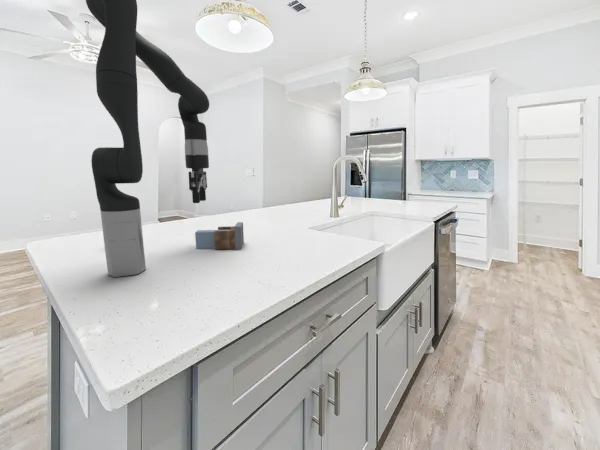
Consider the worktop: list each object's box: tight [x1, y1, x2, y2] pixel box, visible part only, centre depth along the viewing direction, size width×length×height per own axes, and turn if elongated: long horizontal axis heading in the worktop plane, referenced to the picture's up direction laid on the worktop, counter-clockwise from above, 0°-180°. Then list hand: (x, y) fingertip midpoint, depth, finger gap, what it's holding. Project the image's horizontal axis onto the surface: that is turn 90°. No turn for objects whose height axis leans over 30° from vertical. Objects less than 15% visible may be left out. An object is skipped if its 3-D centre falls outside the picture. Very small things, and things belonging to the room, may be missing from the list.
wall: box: [234, 221, 245, 250], centre depth 113 cm, size 2×9×8 cm, turn 4°
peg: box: [194, 229, 223, 250], centre depth 113 cm, size 12×4×6 cm, turn 94°
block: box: [214, 225, 236, 250], centre depth 113 cm, size 7×9×6 cm
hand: (199, 201), depth 109 cm, fingers open, 8 cm apart
